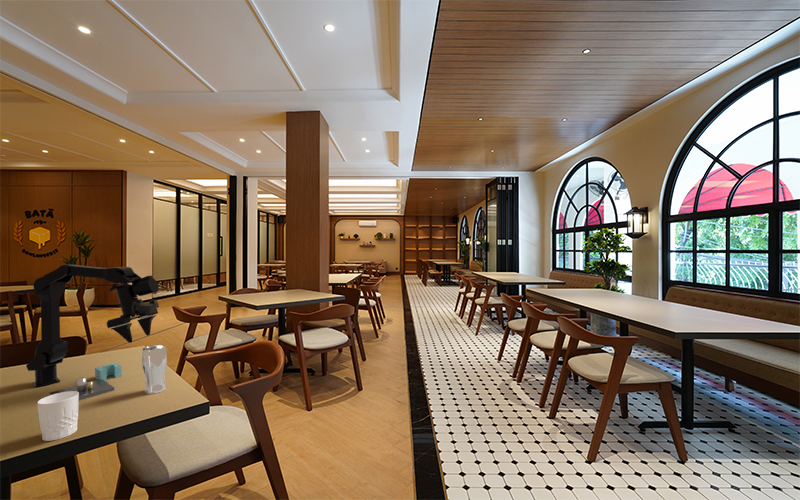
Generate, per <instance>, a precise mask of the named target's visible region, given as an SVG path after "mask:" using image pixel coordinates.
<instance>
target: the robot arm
mask: <svg viewBox="0 0 800 500" xmlns="http://www.w3.org/2000/svg"><path fill="white" fill-rule="evenodd" d="M74 277H81V278H83V277H85V278H94V279H102V280H104V281H105V282H109V283H113V284H112V285H111V287H110V288H109V292H116V295H117V298H118V302H119V304H117V305H116V306H117V308H120V309H121V313H122V314H121V315H119V317H115V318H112V319H111V318H110V319H108V320H107V321H106V328H107V329H110V330H111V331H112V330H114V331H115V332H116V333H117V334H118V335H120V336H121V337H122V338H123V340H125V341H126V342H127V343H133V336H132V331H131V327H132V325H133V322H131V321H133V320H137V322H138V324H139V326H140V327H141V329H142V331H143V332H144V333H143V334H145V335H146V336H147V337H148V336H151V328H152V322H153V320H154V318H155V317H157V314H159V312H158V308H160V305H159V302H158V300H157V299H151V300H149V302H144V301H143V300H142V298H140V299H139V297H143V296H146V295H151V294H155V293H157V292H158V291H159V290H160V289H159V287H160V286H159V282H158V281H157V280H156V279H155V278H154V277H153V275H146V276H144V277H141V276H140V275H138V274H137V273H135V272H134V269H132V267H130V266H119V267H100V266H99V267H98V266H90V265H78V264H62V265H60V266H59V267H58V268H56V269H55V270H52V271H50V272H49V273H46V274H44V275H42V276H41V277H38V278H37V279H36V280H34V281H33V284H32V285H33V291H34V295H35V296H36V297H37V299H38V300H39V301H40V326H41V327H40V330H41V332H40V333H41V334H40V335H41V336H40V338H41V339H40V341H39V343H38V345H37V346H36V348H35V352H34V357H33V358H32V359H31V360H30V361H29V362H28V363H27V364H26V365H25V366H26V369H27V371H29V372H30V371H31V372H32V371H34V380H35V381H34V382H32V385H33V386H34V387H35V388H38V387H45V386H47V385H52V384H56V383H59V382H61V380H60V379H59V378H58V369H57V364H61V363H63V361H64V358H65V356H67V353H68V352H69V349H68V346H69V345H68V344H69V342H68V340H63V338H61V317H60V314H61V313H60V312H61V311H60V301H61V300H60V299H61V298H62V296H63V294H65V290H66V285H67V284H68V283H70V282H71V281H72V280H73V278H74ZM138 296H139V297H138Z"/></svg>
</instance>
